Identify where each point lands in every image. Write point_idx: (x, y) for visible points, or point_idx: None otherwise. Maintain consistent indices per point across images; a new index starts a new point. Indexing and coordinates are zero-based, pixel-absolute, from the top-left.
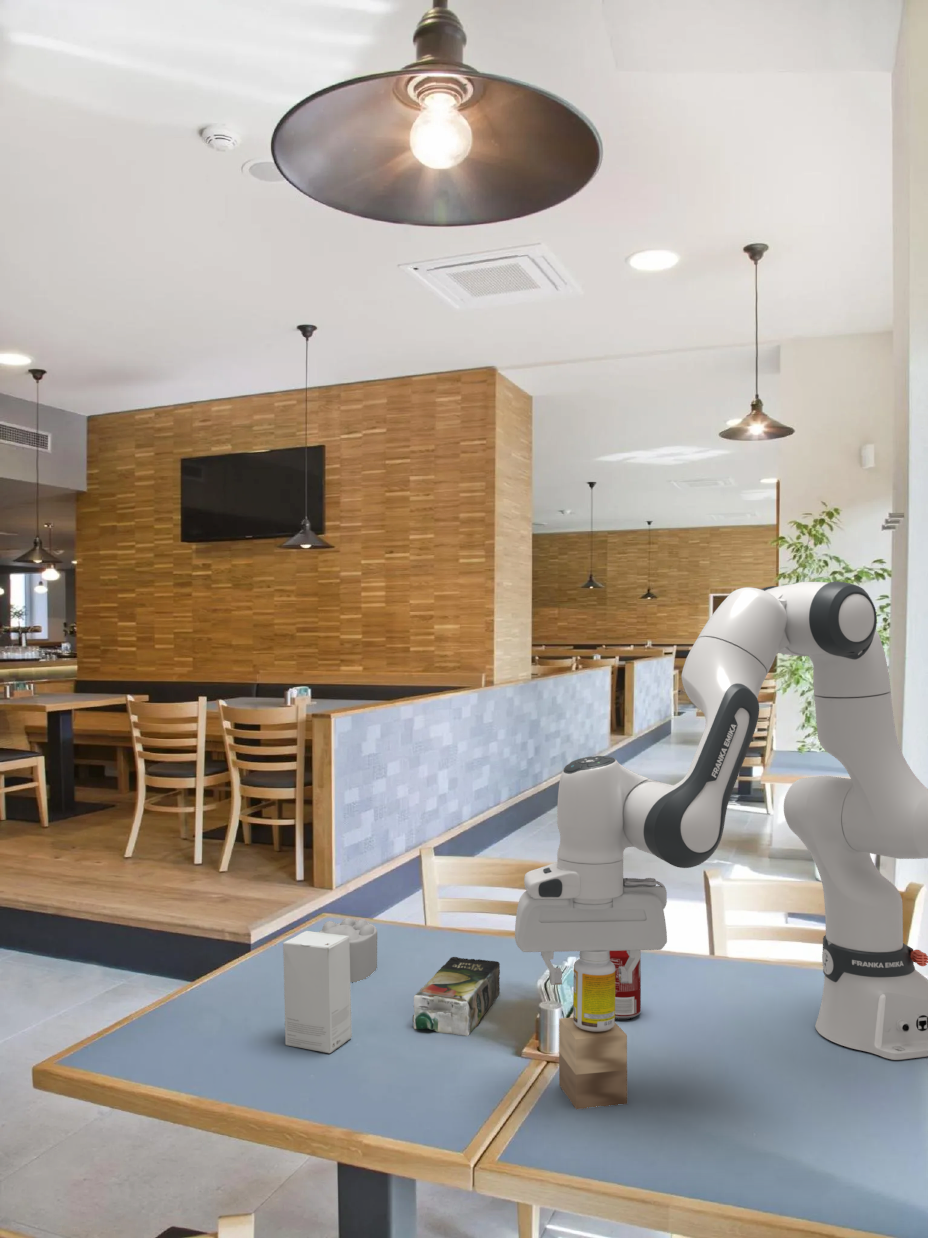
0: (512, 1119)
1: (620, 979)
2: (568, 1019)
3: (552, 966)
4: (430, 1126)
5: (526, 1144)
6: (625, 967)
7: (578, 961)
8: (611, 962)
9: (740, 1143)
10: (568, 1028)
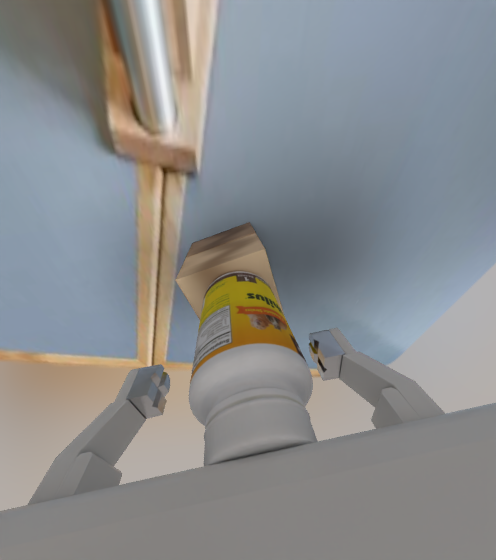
0: (160, 314)
1: (312, 349)
2: (192, 281)
3: (129, 442)
4: (91, 336)
5: (182, 342)
6: (342, 364)
7: (203, 415)
8: (307, 394)
9: (340, 314)
10: (198, 313)
